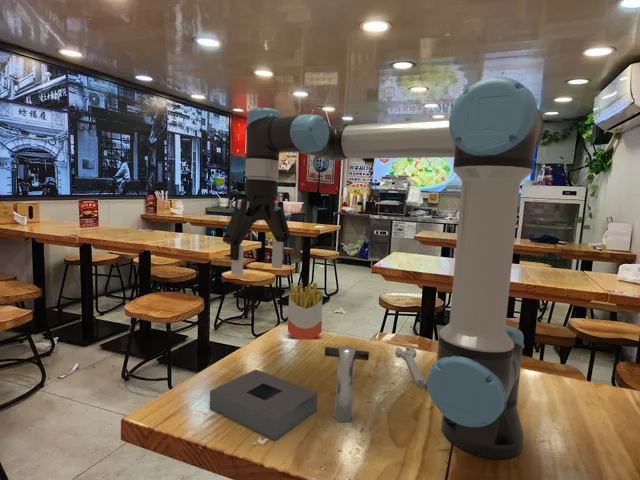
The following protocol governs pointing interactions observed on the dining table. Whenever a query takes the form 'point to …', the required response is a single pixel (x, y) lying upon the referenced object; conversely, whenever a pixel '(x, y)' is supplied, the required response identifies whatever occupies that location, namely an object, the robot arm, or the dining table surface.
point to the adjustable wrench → (412, 365)
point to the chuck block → (264, 403)
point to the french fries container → (305, 312)
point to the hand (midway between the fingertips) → (258, 271)
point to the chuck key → (345, 378)
